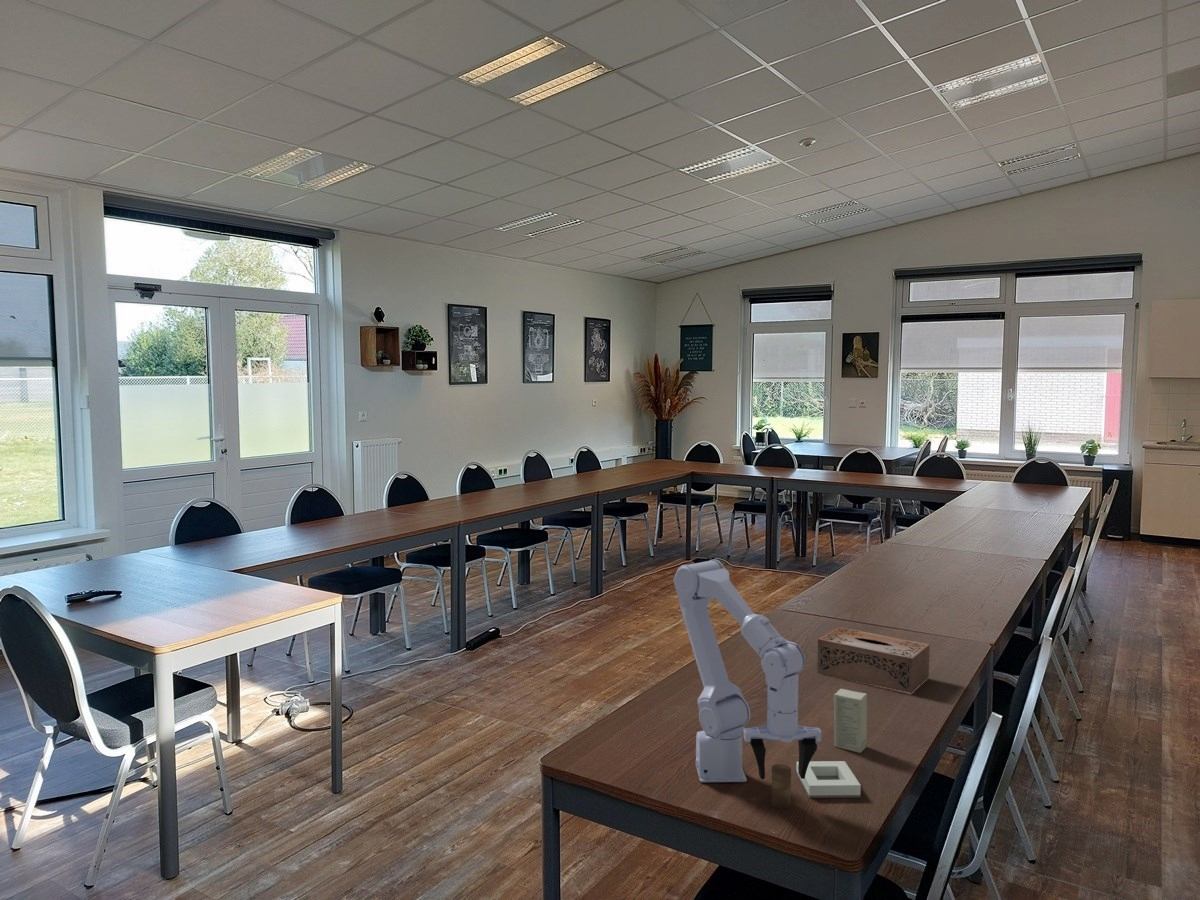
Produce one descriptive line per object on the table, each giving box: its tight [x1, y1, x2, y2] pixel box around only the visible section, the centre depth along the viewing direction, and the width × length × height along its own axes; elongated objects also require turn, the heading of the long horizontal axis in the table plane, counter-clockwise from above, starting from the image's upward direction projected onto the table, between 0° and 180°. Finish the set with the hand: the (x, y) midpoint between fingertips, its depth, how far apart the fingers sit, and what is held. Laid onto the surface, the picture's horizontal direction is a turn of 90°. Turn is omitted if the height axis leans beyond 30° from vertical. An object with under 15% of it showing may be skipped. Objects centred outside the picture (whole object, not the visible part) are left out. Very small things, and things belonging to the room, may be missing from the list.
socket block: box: [795, 760, 862, 799], centre depth 161 cm, size 10×10×2 cm
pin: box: [770, 763, 792, 810], centre depth 154 cm, size 4×4×7 cm
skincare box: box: [833, 688, 868, 754], centre depth 178 cm, size 6×4×12 cm
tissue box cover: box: [816, 626, 931, 693], centre depth 221 cm, size 26×14×10 cm, turn 51°
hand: (781, 776), depth 154 cm, fingers open, 7 cm apart
